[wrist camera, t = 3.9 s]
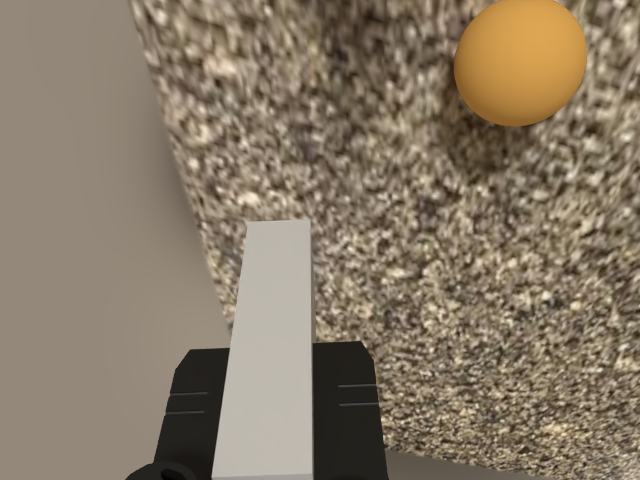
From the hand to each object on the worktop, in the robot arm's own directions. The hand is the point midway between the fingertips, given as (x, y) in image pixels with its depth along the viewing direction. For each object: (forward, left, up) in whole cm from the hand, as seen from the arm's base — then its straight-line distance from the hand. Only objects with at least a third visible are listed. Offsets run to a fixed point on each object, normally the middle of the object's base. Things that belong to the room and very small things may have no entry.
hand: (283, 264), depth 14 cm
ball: (-7, -7, -13) cm, 17 cm away
